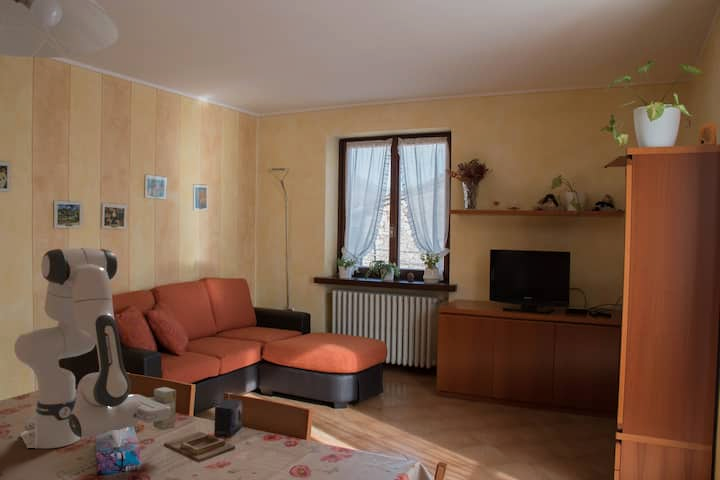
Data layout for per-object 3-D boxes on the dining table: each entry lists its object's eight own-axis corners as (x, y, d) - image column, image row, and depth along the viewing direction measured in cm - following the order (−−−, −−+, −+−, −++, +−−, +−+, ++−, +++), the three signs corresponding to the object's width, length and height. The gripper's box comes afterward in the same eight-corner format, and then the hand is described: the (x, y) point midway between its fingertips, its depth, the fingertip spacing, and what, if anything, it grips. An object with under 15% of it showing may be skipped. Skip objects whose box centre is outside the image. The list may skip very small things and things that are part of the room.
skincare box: (175, 428, 186) (177, 390, 186) (163, 431, 183) (165, 392, 183) (164, 423, 190) (165, 386, 190) (152, 426, 187) (154, 388, 187)
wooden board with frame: (164, 445, 195) (164, 438, 195) (199, 433, 206) (199, 427, 206) (199, 461, 182) (199, 454, 182) (235, 448, 193) (235, 441, 193)
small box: (230, 438, 202) (231, 408, 202) (213, 436, 203) (213, 406, 203) (242, 427, 212) (243, 399, 212) (226, 425, 214) (226, 397, 213)
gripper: (144, 409, 170) (185, 399, 180) (110, 395, 183) (150, 386, 194) (144, 430, 170) (185, 419, 181) (110, 415, 183) (150, 404, 194)
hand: (167, 402), depth 187 cm, fingers closed on skincare box, 6 cm apart
